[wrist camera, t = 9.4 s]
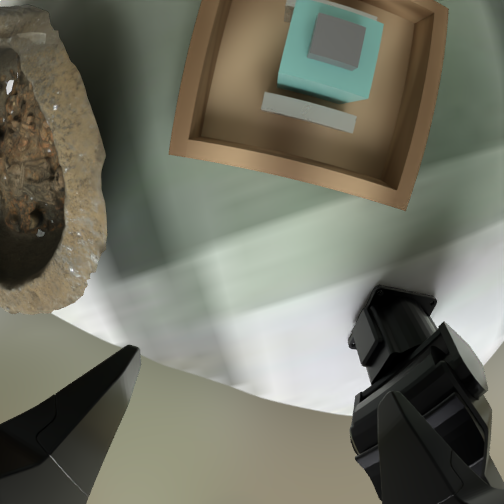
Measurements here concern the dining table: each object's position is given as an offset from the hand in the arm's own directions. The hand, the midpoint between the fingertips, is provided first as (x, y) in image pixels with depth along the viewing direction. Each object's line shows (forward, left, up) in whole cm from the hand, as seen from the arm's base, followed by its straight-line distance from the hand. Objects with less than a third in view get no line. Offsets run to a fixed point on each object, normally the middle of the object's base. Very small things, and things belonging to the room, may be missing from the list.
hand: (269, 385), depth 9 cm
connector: (0, -12, -12) cm, 17 cm away
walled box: (0, -12, -13) cm, 18 cm away
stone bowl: (+22, -3, -13) cm, 26 cm away
